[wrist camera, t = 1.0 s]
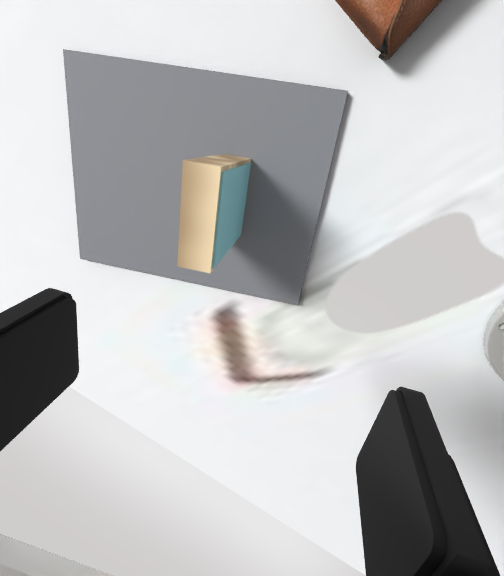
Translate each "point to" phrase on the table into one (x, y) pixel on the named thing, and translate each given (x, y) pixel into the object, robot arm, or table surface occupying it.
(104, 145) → the rubber mat
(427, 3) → the sunglasses case
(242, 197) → the maple tile
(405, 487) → the robot arm
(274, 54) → the table surface
